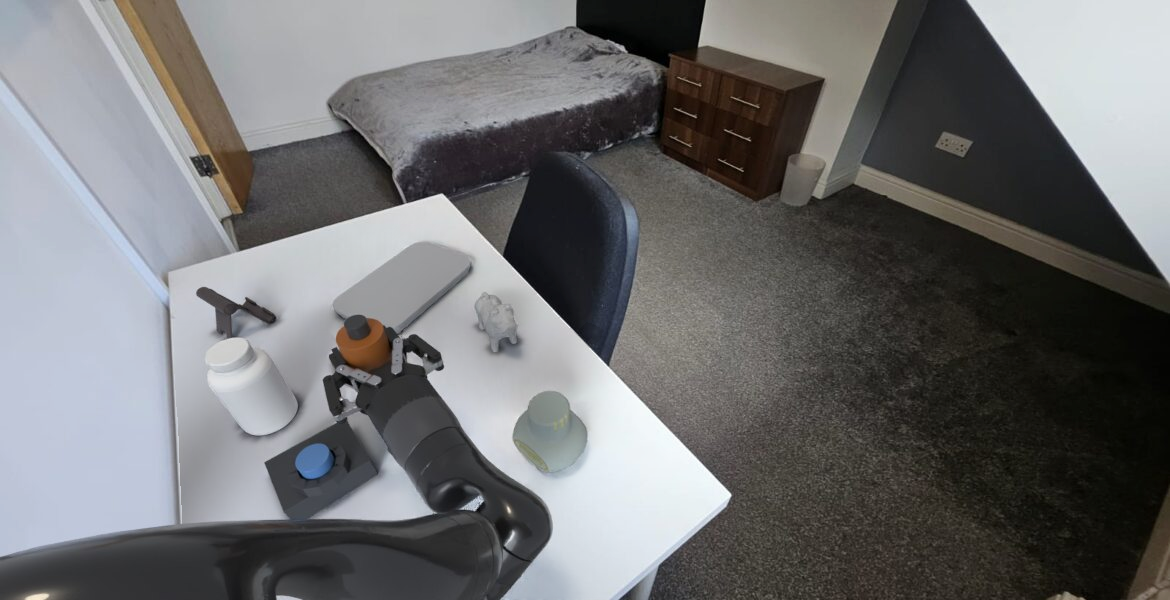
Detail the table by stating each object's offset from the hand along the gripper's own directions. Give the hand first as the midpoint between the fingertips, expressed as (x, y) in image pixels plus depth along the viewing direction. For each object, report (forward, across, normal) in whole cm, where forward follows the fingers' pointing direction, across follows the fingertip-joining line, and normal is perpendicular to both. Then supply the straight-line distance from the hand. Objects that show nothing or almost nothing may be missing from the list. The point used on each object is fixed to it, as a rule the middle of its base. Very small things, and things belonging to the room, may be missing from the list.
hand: (359, 341), depth 62 cm
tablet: (+28, -16, +18) cm, 37 cm away
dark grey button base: (-3, +11, +18) cm, 21 cm away
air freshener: (-20, -16, +18) cm, 31 cm away
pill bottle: (+13, +14, +18) cm, 27 cm away
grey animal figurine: (+5, -23, +18) cm, 29 cm away
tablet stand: (+38, +12, +18) cm, 44 cm away
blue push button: (-5, +11, +12) cm, 17 cm away
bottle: (-2, 0, +6) cm, 7 cm away
